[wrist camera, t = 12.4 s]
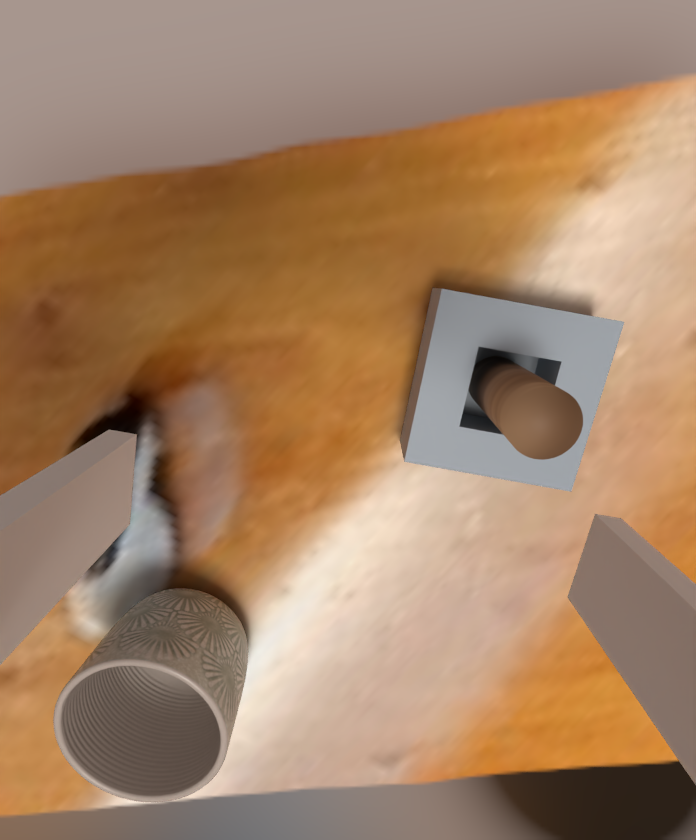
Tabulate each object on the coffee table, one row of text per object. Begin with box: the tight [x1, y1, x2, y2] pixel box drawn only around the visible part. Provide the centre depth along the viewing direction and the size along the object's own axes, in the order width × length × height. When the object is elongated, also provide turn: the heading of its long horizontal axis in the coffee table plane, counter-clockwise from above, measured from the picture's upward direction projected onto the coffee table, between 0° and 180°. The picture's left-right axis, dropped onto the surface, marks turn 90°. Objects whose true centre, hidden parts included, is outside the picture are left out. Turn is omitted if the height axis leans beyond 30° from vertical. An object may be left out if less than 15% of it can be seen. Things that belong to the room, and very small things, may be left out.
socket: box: [400, 288, 624, 491], centre depth 37 cm, size 12×12×5 cm
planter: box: [54, 588, 248, 802], centre depth 42 cm, size 12×12×11 cm
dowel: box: [468, 356, 583, 460], centre depth 33 cm, size 4×4×12 cm
